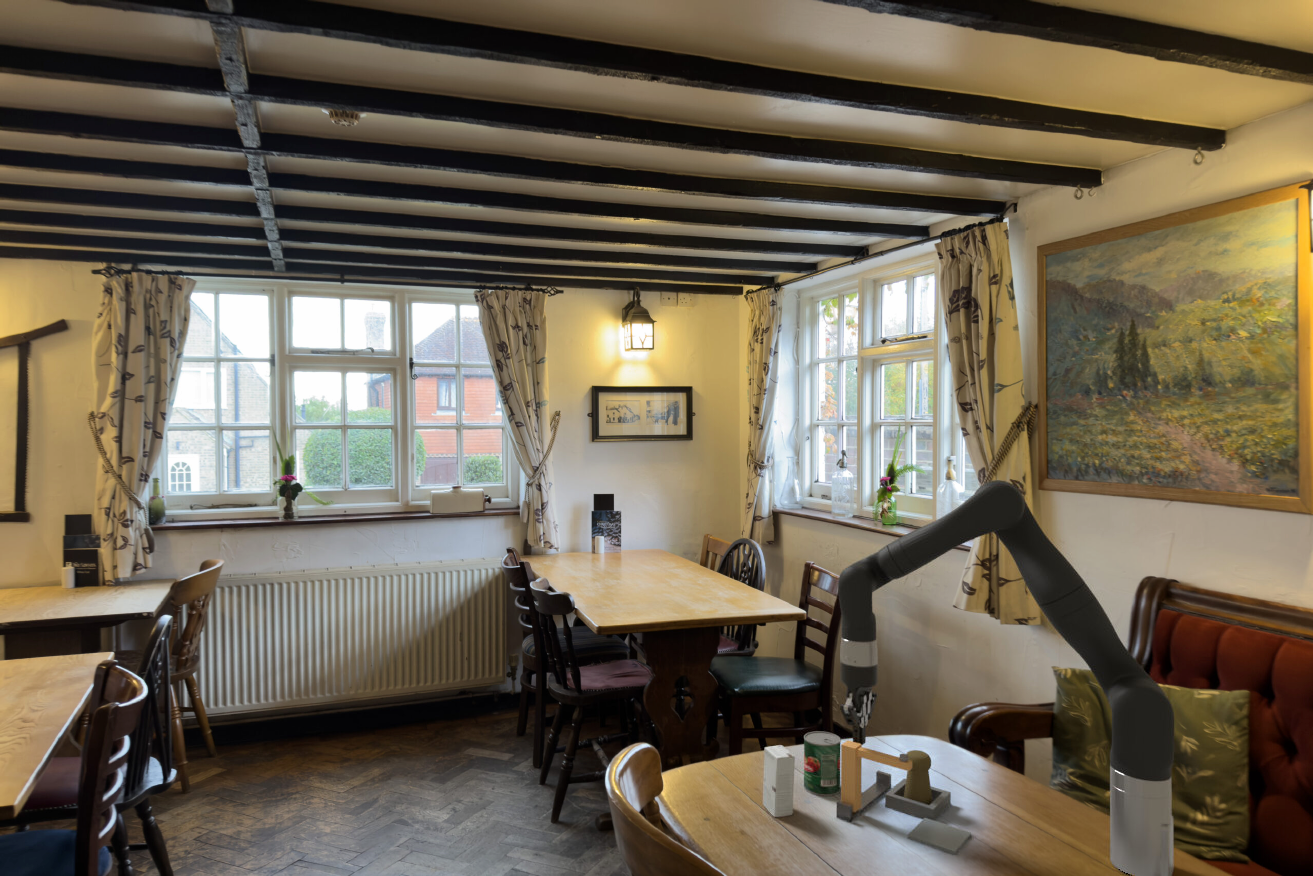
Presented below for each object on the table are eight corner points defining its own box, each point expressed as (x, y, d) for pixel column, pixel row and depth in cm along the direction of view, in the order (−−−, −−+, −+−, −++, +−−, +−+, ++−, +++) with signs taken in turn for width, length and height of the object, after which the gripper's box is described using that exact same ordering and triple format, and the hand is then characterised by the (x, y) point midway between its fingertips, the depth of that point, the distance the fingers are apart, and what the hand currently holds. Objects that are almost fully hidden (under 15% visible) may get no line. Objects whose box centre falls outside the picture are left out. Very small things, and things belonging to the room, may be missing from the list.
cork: (935, 813, 153) (935, 759, 153) (904, 810, 154) (904, 757, 154) (930, 800, 159) (931, 748, 159) (901, 797, 160) (901, 745, 160)
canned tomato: (796, 786, 165) (796, 736, 165) (819, 777, 170) (819, 728, 170) (824, 800, 159) (824, 747, 159) (848, 790, 164) (848, 739, 164)
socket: (950, 804, 157) (950, 792, 157) (933, 822, 150) (933, 809, 150) (904, 790, 164) (904, 778, 164) (885, 806, 156) (885, 794, 156)
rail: (891, 788, 164) (891, 774, 165) (850, 822, 149) (850, 807, 149) (878, 784, 166) (878, 770, 166) (836, 817, 151) (836, 802, 151)
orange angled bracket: (913, 824, 146) (913, 755, 146) (907, 830, 144) (907, 759, 144) (847, 802, 155) (847, 737, 155) (841, 807, 153) (841, 741, 153)
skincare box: (761, 804, 156) (762, 746, 157) (781, 802, 158) (781, 744, 158) (775, 818, 151) (775, 758, 151) (795, 815, 152) (795, 755, 152)
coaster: (971, 835, 144) (971, 832, 144) (955, 855, 137) (955, 851, 137) (924, 820, 150) (924, 817, 150) (907, 838, 143) (907, 835, 143)
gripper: (861, 670, 149) (862, 758, 148) (889, 656, 159) (889, 739, 158) (827, 663, 153) (827, 748, 153) (856, 650, 164) (856, 730, 163)
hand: (859, 743), depth 156 cm, fingers closed
